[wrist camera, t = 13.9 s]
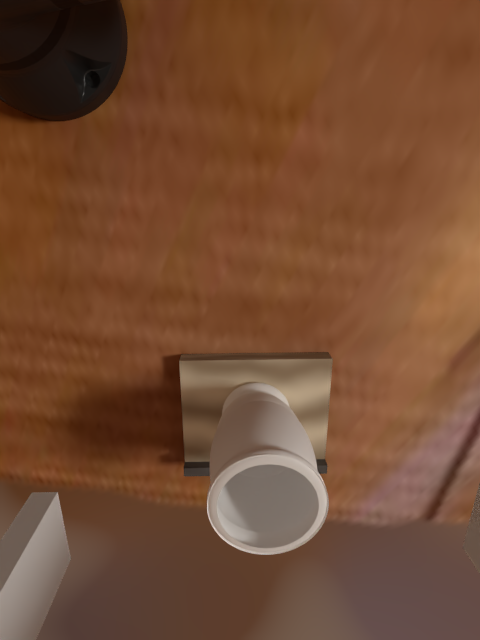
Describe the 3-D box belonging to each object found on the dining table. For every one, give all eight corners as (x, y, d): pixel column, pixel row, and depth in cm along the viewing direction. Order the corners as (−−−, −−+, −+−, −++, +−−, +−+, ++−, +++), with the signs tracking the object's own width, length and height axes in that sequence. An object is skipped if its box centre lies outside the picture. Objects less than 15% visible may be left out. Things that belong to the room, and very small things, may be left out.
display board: (181, 354, 45) (177, 365, 42) (328, 352, 45) (335, 362, 42) (187, 460, 49) (184, 477, 46) (320, 458, 50) (326, 474, 47)
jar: (309, 433, 46) (344, 534, 32) (232, 460, 47) (234, 570, 33) (281, 361, 43) (306, 437, 29) (200, 390, 44) (185, 479, 30)
